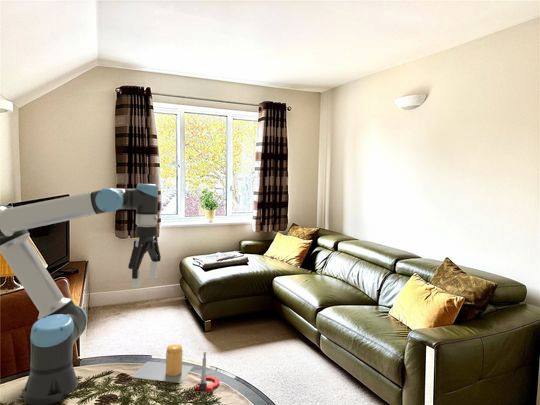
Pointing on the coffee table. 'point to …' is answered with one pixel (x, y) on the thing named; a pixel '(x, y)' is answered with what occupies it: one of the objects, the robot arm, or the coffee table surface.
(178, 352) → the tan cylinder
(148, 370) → the board
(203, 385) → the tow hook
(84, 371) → the coffee table surface
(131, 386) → the coffee table surface
